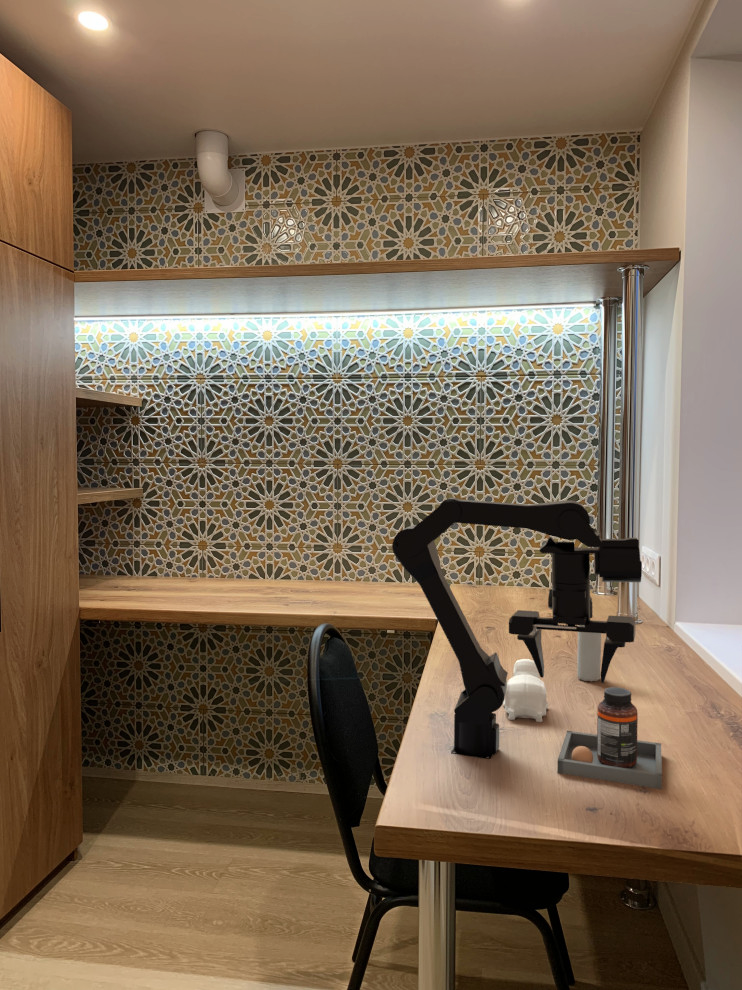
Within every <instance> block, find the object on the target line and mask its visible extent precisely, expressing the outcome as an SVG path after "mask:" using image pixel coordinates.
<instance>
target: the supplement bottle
mask: <svg viewBox="0 0 742 990" xmlns="http://www.w3.org/2000/svg"><path fill="white" fill-rule="evenodd" d="M603 694H604V695H603V700H602V701H600V702H599V703H598V705H597V719H596V720H597V724H596V725H597V730H596V731H597V734H596V735H597V758H598V760H599V761H600V762H601V763H603V764H604V765H607V766H614V767H621V768H630V767H632V766H634V765H635V764H636V762H637V740H638V724H639V723H638V718H639V717H638V716H639V715H638V709H637V706H635V705H634V704H633V703H632V692H631V691H630V690H629V689H626V688H625V687H624V688H623V687H618V686H617V687H616V686H612V687H606V688H605V689H604V692H603Z"/></svg>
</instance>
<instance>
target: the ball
mask: <svg viewBox="0 0 742 990" xmlns="http://www.w3.org/2000/svg"><path fill="white" fill-rule="evenodd" d="M572 760H574V761H581V762H587V763H592V762H593V754H592V752H591V751H590V749H588V748H587V747H585V746H578V747H576V748H575V749H574V750H573V752H572Z"/></svg>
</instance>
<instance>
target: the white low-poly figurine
mask: <svg viewBox="0 0 742 990" xmlns="http://www.w3.org/2000/svg"><path fill="white" fill-rule="evenodd" d="M545 685H546V684H545V682H544V681H543V680H541V679H540V675H539V672H538V670H537V667H536V665H535V663H534V660H533V659H528V658H523V659H522V658H520V659H517V660H516V662H515V663H514V665H513V673H512V677H510V678H509V679H508V680H507V689H506V693H505V698H504V701H503V704H502V707H504V712H506V713H508V720H510V721H515V719H516V718H522V719H532V720H535V722H537V723H542V722H543V718H542V717H543V716H546V715H547V709H548V710H549V709H550V708H549V702H548V700H547V698H548V696H547V695H548V693H547V692H548V691H547V688H546V686H545Z"/></svg>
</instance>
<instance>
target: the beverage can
mask: <svg viewBox="0 0 742 990" xmlns="http://www.w3.org/2000/svg"><path fill="white" fill-rule="evenodd" d="M580 626H581V625H580ZM581 627H585V626H584V625H583V626H581ZM601 655H602V633H589V632H577V655H576V657H577V660H576V661H577V663H576V664H577V665H576V675H577V678H578V679H579V680H580V679H581V681H584V682H587V681H591V682H590V683H593V682H592V681H595V682H597V681H599V680H601V666H602V657H601Z"/></svg>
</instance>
